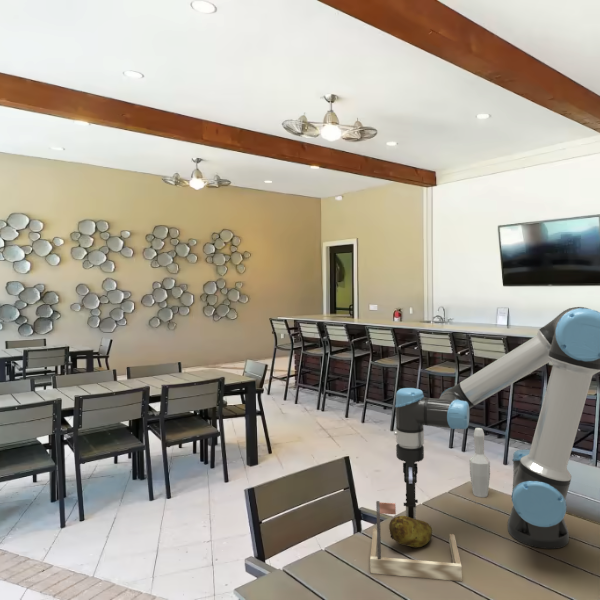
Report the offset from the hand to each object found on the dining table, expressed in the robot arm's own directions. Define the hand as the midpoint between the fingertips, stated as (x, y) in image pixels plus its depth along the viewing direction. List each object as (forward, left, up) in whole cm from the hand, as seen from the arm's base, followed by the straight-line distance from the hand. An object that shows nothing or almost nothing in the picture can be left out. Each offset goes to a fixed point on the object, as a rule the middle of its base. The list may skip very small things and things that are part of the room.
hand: (411, 527), depth 134 cm
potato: (0, +5, -2) cm, 6 cm away
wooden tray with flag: (0, +12, -2) cm, 12 cm away
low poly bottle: (-23, -30, -2) cm, 38 cm away
